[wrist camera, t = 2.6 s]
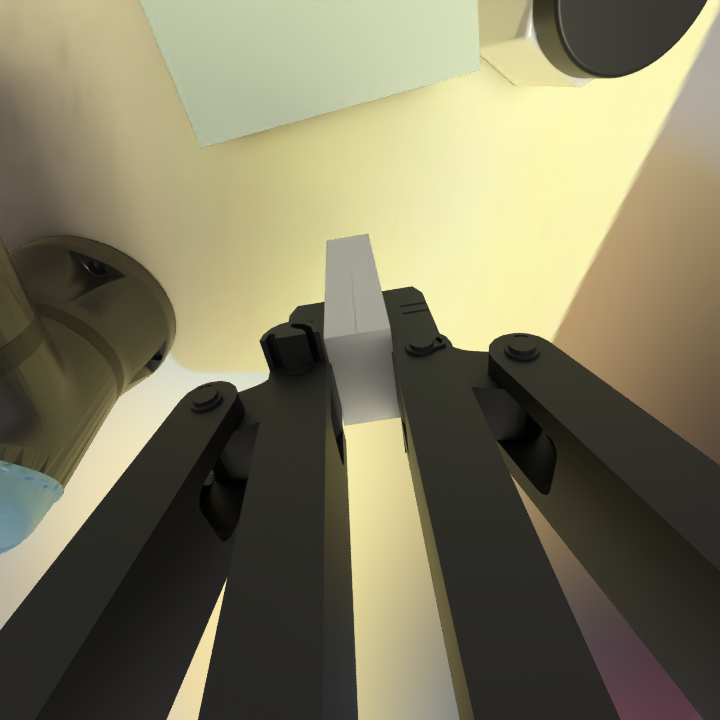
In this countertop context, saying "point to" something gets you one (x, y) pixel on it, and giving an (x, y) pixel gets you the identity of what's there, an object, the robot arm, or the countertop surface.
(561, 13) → the jar
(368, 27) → the square plate with hole
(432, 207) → the countertop surface
